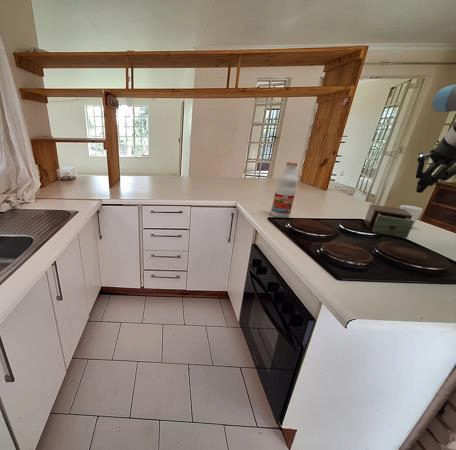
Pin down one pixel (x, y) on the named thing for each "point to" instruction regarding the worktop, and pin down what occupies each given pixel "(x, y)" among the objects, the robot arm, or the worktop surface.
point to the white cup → (412, 212)
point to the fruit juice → (285, 192)
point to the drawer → (391, 224)
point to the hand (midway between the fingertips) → (419, 189)
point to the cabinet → (383, 209)
